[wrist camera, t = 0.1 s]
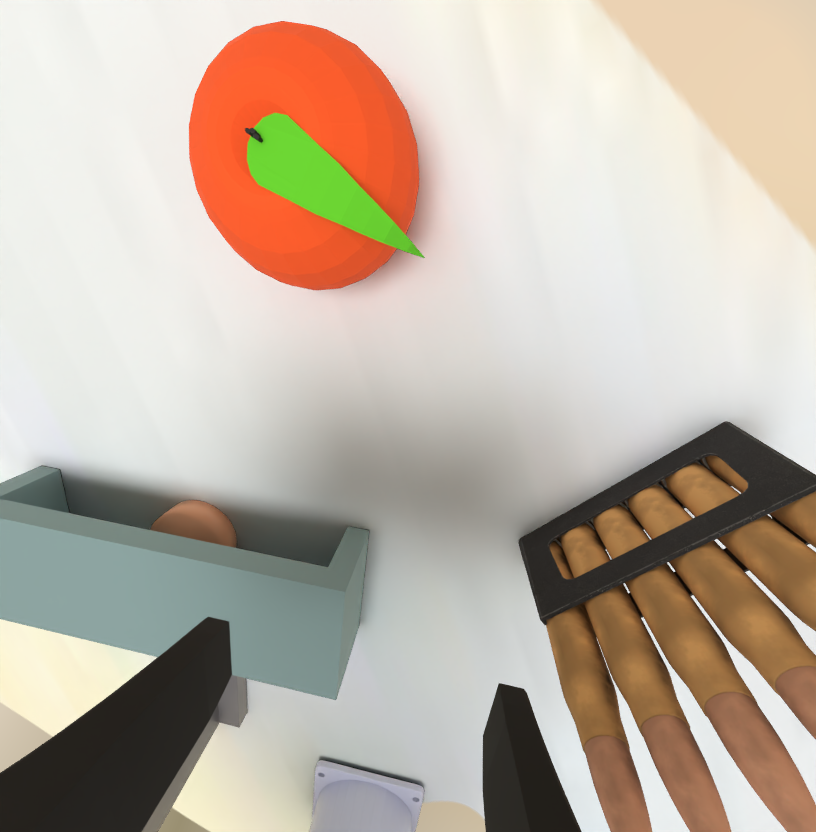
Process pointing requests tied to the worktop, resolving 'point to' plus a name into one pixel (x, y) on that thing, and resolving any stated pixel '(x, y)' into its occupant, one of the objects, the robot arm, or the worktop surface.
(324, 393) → the worktop surface
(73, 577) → the grey-green bridge-shaped bar
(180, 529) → the orange rounded disc
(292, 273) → the tomato
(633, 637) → the ammunition clip
